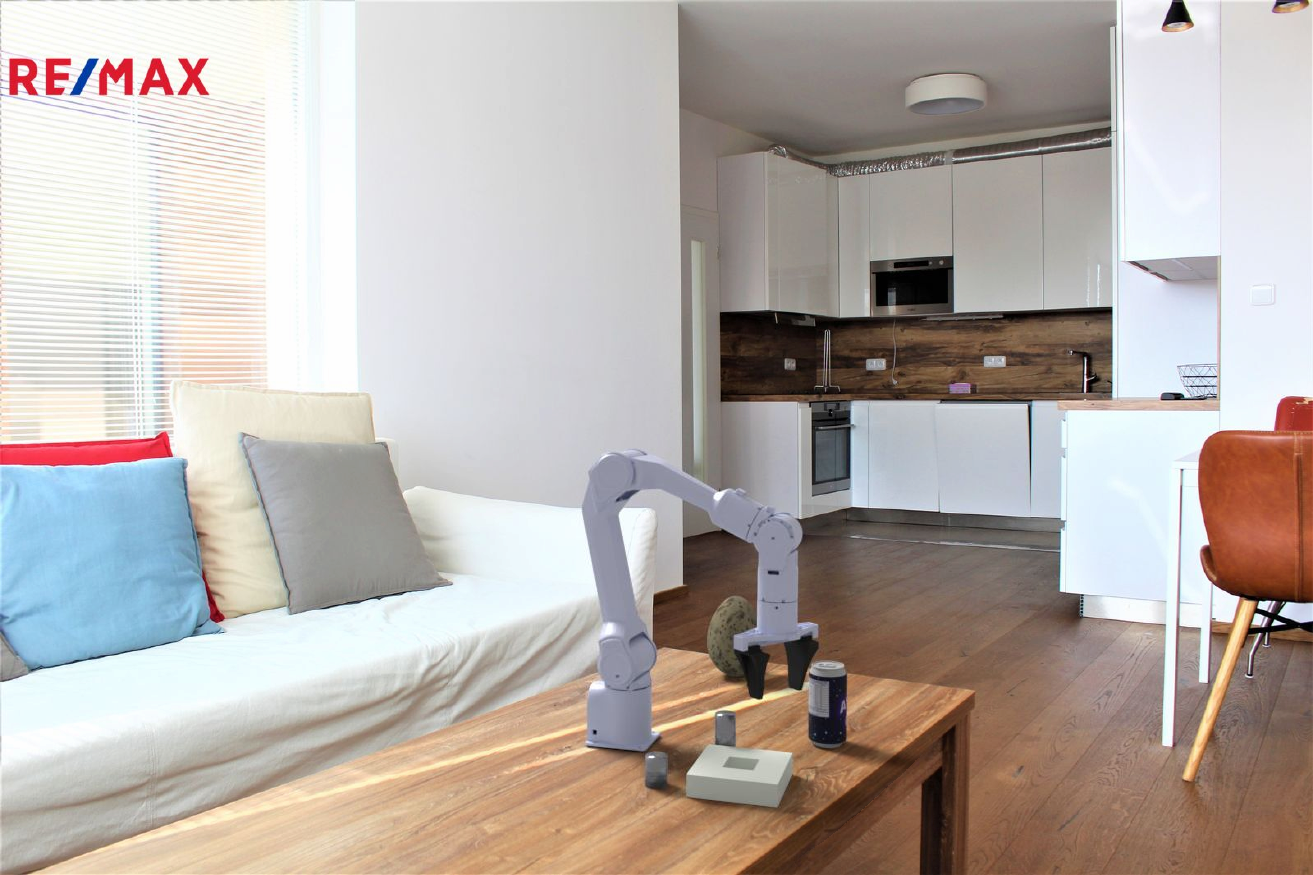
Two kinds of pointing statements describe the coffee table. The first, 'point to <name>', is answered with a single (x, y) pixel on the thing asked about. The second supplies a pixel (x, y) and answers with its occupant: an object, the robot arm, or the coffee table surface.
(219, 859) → the coffee table surface
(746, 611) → the decorative egg
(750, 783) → the hole block
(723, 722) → the long pin
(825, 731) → the beverage can
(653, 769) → the short pin
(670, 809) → the coffee table surface
